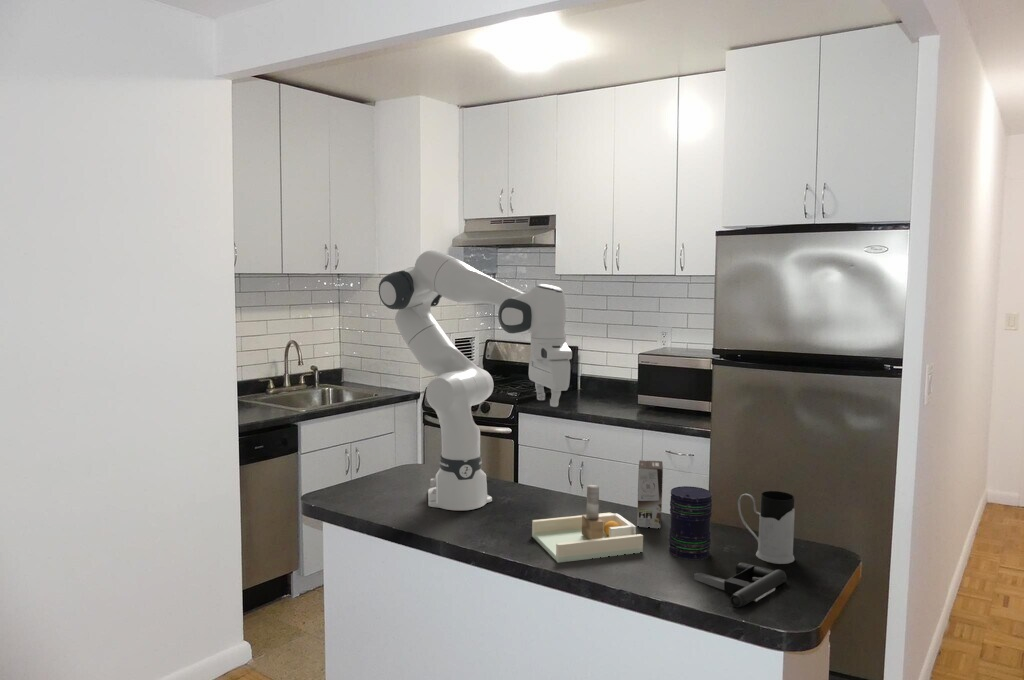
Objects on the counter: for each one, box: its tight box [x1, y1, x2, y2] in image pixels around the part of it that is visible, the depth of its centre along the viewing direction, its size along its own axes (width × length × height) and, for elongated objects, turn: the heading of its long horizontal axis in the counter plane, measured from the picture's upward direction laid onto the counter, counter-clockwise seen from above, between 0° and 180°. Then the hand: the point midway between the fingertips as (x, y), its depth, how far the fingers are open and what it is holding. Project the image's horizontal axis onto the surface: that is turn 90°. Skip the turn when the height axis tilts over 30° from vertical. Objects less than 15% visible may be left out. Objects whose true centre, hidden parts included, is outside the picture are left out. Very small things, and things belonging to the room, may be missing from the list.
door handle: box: [693, 561, 788, 608], centre depth 163 cm, size 3×20×16 cm
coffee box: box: [636, 459, 664, 529], centre depth 202 cm, size 9×6×16 cm
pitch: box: [531, 512, 644, 564], centre depth 186 cm, size 18×22×5 cm
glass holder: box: [737, 490, 796, 565], centre depth 181 cm, size 9×14×15 cm, turn 48°
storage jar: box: [668, 485, 713, 561], centre depth 181 cm, size 10×10×15 cm
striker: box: [581, 484, 603, 540], centre depth 186 cm, size 6×3×13 cm, turn 18°
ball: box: [604, 521, 619, 536], centre depth 188 cm, size 4×4×4 cm
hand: (547, 403), depth 191 cm, fingers open, 8 cm apart
